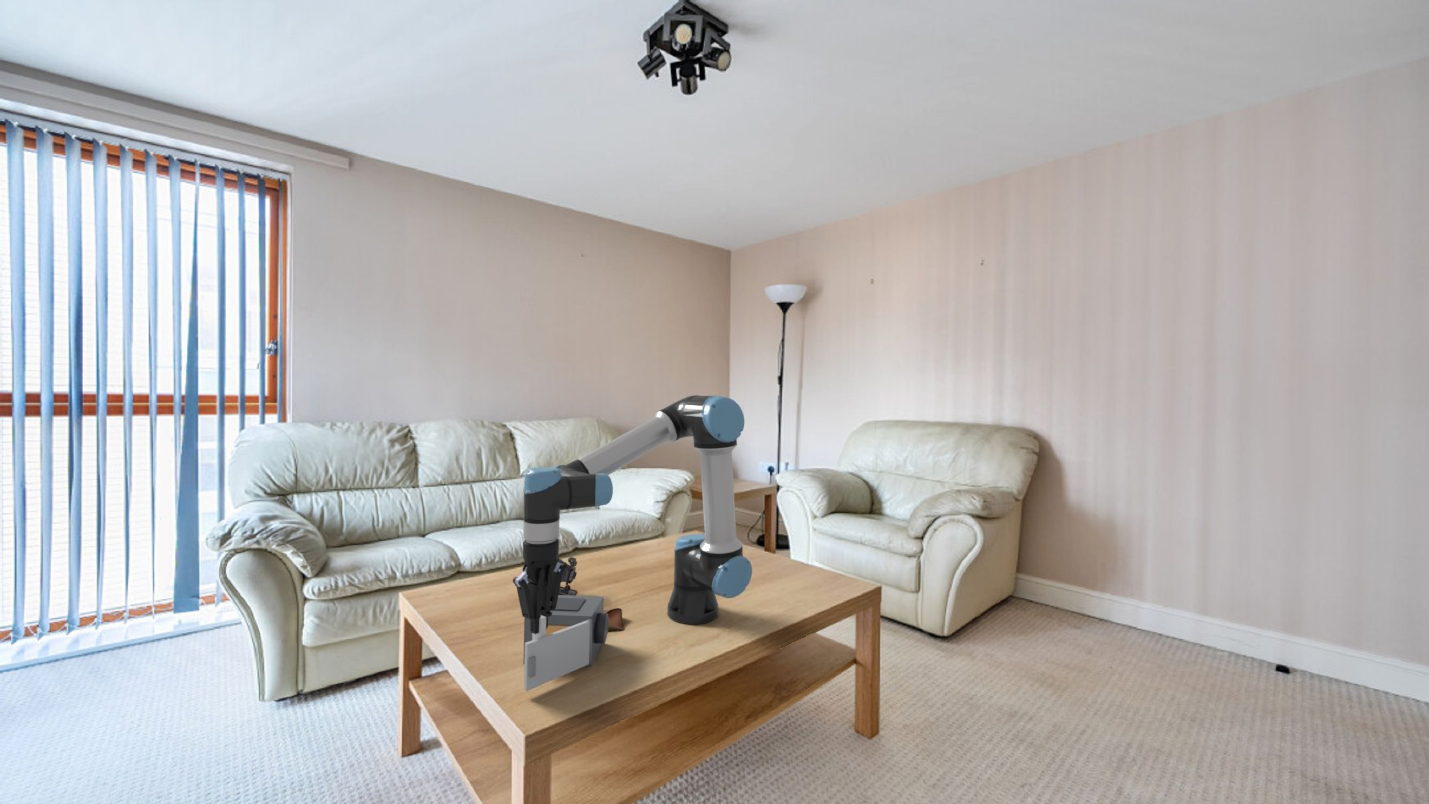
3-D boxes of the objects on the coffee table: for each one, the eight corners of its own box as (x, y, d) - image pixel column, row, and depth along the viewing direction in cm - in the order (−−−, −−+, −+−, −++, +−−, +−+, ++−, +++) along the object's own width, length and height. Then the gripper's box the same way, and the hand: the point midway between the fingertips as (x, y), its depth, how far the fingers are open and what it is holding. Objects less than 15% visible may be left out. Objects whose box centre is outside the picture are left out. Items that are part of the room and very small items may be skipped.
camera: (566, 614, 162) (584, 551, 162) (513, 598, 162) (532, 536, 162) (576, 600, 173) (593, 542, 173) (527, 585, 173) (544, 527, 173)
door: (589, 660, 125) (590, 618, 125) (594, 663, 124) (595, 621, 123) (523, 689, 112) (524, 642, 112) (528, 692, 111) (529, 645, 111)
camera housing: (610, 642, 137) (611, 593, 137) (598, 667, 125) (599, 613, 125) (541, 640, 138) (542, 591, 137) (523, 664, 125) (524, 610, 125)
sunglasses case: (558, 637, 139) (558, 610, 142) (557, 640, 145) (557, 615, 148) (626, 630, 145) (625, 604, 148) (623, 633, 150) (621, 608, 154)
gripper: (552, 529, 123) (549, 629, 124) (504, 543, 112) (502, 653, 113) (575, 535, 119) (573, 638, 120) (528, 549, 108) (526, 663, 109)
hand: (538, 645), depth 116 cm, fingers closed
